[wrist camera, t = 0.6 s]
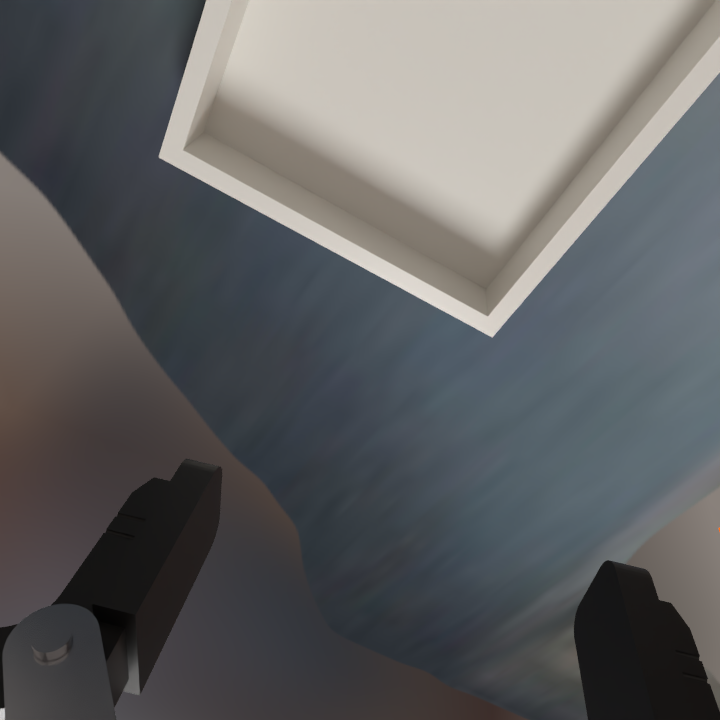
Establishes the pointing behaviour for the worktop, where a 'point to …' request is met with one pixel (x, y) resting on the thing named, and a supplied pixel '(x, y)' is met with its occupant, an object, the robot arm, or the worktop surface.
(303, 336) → the worktop surface
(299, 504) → the worktop surface
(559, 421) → the worktop surface
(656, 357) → the worktop surface
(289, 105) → the plastic tray
